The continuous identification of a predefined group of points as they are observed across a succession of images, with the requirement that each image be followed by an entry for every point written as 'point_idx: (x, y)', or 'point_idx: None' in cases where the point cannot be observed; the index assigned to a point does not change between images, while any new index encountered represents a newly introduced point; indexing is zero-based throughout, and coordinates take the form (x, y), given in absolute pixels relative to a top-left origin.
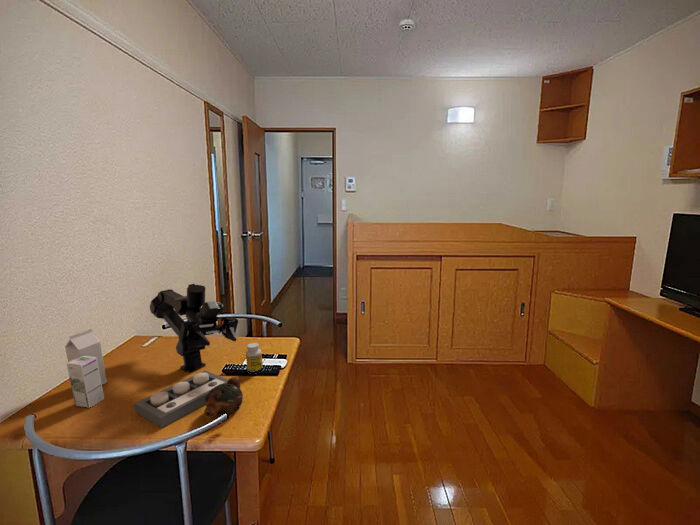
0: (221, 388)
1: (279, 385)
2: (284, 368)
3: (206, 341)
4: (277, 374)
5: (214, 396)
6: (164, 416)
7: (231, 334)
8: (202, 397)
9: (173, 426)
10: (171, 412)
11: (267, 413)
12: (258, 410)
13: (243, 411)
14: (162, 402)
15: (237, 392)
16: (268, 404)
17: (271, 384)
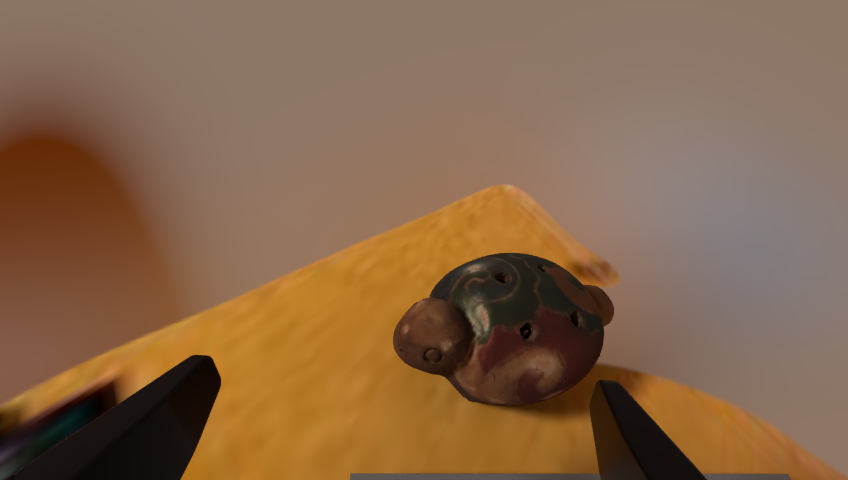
0: (543, 279)
1: (223, 304)
2: (3, 407)
3: (646, 420)
4: (101, 389)
5: (580, 286)
6: (766, 475)
7: (114, 476)
8: (559, 474)
9: (699, 446)
10: (733, 474)
11: (413, 226)
12: (417, 257)
13: None
14: None
15: (476, 259)
16: (370, 253)
17: (225, 340)
